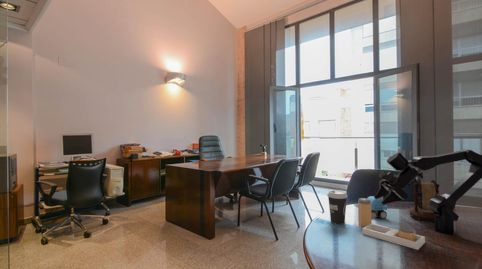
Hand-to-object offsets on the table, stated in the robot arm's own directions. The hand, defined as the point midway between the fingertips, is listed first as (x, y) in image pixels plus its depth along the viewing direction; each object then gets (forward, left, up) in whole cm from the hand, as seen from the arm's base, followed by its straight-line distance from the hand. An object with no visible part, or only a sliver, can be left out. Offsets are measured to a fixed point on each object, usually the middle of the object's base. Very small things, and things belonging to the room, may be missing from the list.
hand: (378, 201), depth 115 cm
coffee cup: (+17, +7, -13) cm, 22 cm away
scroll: (-11, -31, -13) cm, 35 cm away
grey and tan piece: (-15, +11, -11) cm, 21 cm away
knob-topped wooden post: (+5, +4, -13) cm, 14 cm away
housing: (-9, +11, -12) cm, 19 cm away
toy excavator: (+6, -17, -13) cm, 22 cm away
